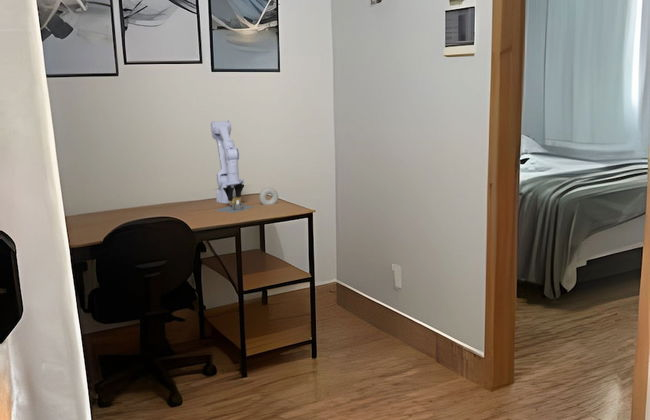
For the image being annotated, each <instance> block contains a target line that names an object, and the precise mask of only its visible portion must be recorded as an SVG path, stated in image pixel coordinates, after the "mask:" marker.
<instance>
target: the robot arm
mask: <svg viewBox="0 0 650 420" xmlns="http://www.w3.org/2000/svg"><path fill="white" fill-rule="evenodd" d="M210 131H211V137H212V139H213V140H215V143H216V144H217V152H218V157H219V164H220V165H219V166H220V170H219V171H218V172H217V174H216V184H217V187H218V188H217V189H216V193H215V196H216V203H222V204H230V201H232V200H233V197H241V196H242V191H243V189H244V187H245V179H243V178H241V179H240V174H239V173H240V172H239V159H240V151H239V148H237V147H236V145H235V142H234V140H233V139H232V138H231V132H232V122H231V121H230V120H221V121H220V120H219V121H211V122H210ZM241 198H242V197H241Z"/></svg>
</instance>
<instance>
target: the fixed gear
mask: <svg viewBox="0 0 650 420" xmlns="http://www.w3.org/2000/svg"><path fill="white" fill-rule="evenodd" d="M243 205H244V203H243V202H241V203H239V204H236V203H233V204H232V205H231V206H232V208H233V210H237V211H238V210H243V209H244V206H245V205H244V206H243ZM243 211H244V210H243Z"/></svg>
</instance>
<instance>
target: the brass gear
mask: <svg viewBox="0 0 650 420" xmlns="http://www.w3.org/2000/svg"><path fill="white" fill-rule="evenodd" d="M237 200H239V203H242V197H236V196H235V197H233V200H232V201H230V203H229V206H232V204H233V203H236V201H237Z"/></svg>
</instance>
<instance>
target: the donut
mask: <svg viewBox="0 0 650 420" xmlns="http://www.w3.org/2000/svg"><path fill="white" fill-rule="evenodd" d="M267 195H270V196H271V198H270V199H267ZM258 199H259V201H260V204H261V205H263V206H264V205H265V206H266V205H275V204H277V202H278V201H279V194H278V191H277V190H276V189H275V188H273V187H265V188H263V189H261V191H260V193H259V197H258Z"/></svg>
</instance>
